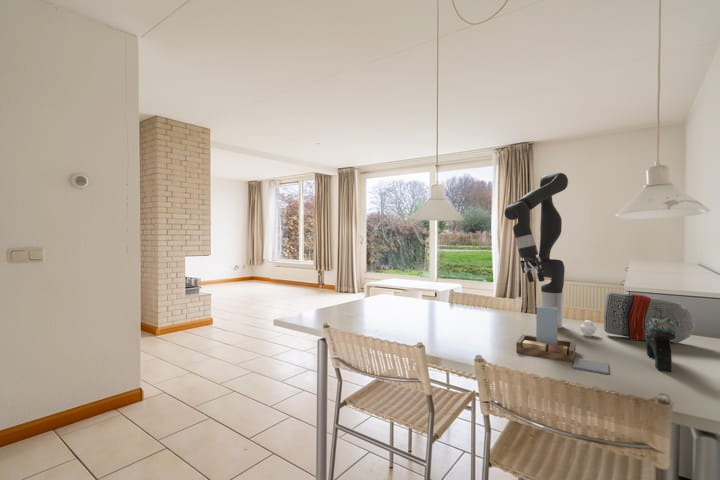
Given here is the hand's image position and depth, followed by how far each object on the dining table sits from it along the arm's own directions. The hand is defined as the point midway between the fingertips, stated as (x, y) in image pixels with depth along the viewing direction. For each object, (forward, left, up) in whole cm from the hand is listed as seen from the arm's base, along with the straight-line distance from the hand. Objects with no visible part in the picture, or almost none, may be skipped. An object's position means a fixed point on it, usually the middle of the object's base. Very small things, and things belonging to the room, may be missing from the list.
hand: (536, 281), depth 157 cm
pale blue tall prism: (+14, +11, -25) cm, 31 cm away
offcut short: (+18, +17, -25) cm, 35 cm away
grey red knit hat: (-33, +30, -25) cm, 51 cm away
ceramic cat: (-3, +41, -25) cm, 48 cm away
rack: (+17, +12, -25) cm, 32 cm away
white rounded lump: (-21, +12, -25) cm, 35 cm away
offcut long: (+21, +10, -25) cm, 34 cm away
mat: (+19, +29, -25) cm, 42 cm away
